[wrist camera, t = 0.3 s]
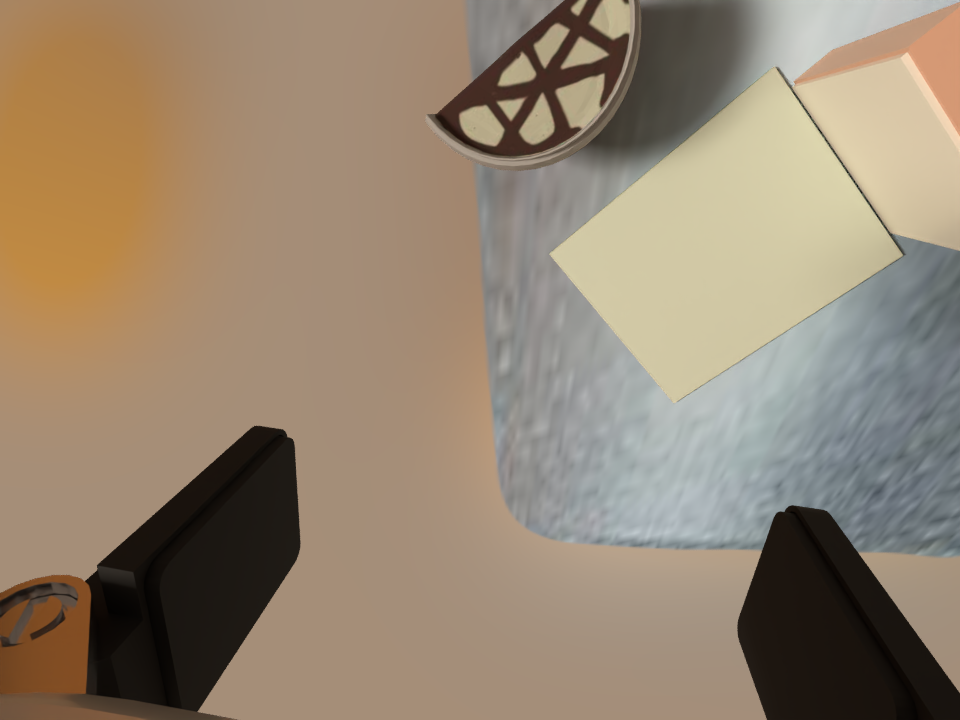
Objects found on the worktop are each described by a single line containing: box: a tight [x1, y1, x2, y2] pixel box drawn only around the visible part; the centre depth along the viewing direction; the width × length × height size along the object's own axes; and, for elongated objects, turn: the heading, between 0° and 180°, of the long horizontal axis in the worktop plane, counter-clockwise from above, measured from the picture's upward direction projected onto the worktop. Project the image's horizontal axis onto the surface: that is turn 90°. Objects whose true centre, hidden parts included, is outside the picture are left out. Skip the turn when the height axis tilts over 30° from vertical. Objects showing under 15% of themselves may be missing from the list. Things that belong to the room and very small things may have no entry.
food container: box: [425, 0, 641, 171], centre depth 31 cm, size 12×6×10 cm, turn 127°
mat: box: [550, 67, 903, 403], centre depth 37 cm, size 18×15×1 cm
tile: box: [792, 2, 960, 251], centre depth 28 cm, size 3×12×12 cm, turn 42°
